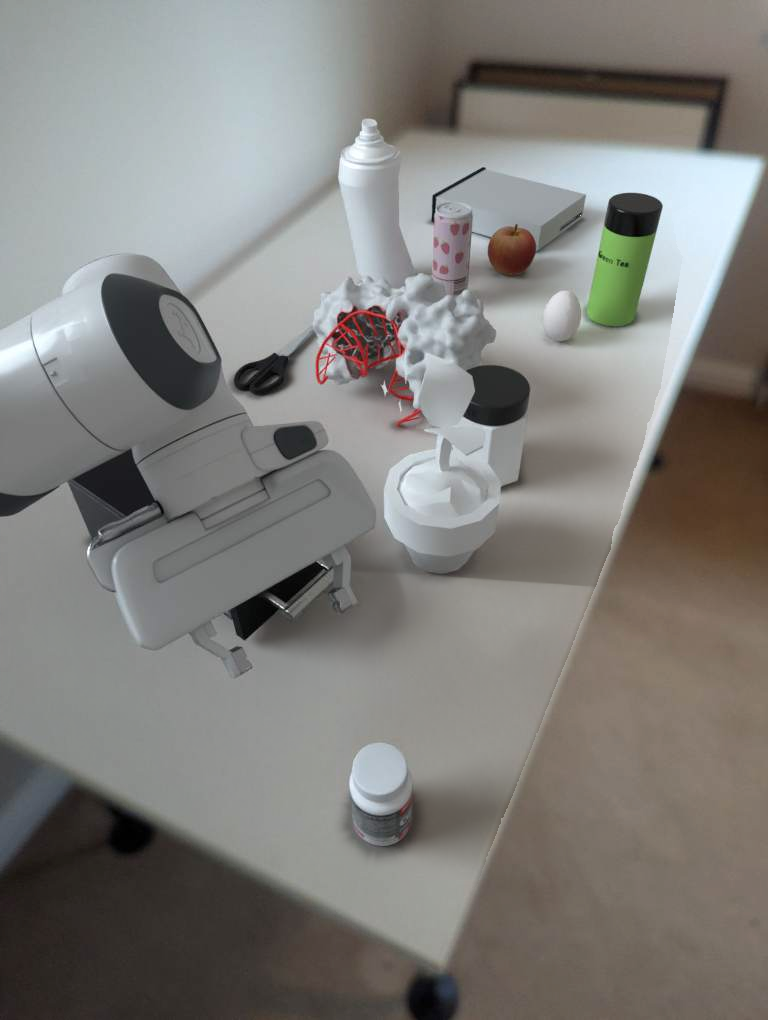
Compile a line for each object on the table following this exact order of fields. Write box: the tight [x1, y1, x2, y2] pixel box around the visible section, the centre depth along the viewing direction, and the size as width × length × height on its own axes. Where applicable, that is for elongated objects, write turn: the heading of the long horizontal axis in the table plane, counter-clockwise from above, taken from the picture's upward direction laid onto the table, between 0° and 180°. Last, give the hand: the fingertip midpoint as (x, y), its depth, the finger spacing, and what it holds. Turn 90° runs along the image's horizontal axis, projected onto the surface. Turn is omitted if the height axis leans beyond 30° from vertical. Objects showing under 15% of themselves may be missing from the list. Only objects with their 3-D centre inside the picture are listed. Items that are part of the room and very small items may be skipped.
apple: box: [487, 224, 537, 276], centre depth 121 cm, size 8×8×8 cm
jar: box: [451, 364, 531, 487], centre depth 84 cm, size 9×8×12 cm
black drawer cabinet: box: [66, 448, 176, 547], centre depth 77 cm, size 15×13×10 cm
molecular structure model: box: [312, 272, 497, 427], centre depth 93 cm, size 20×18×25 cm
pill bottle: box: [348, 742, 414, 847], centre depth 56 cm, size 5×5×8 cm
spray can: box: [337, 118, 417, 289], centre depth 112 cm, size 12×11×25 cm
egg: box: [542, 289, 582, 342], centre depth 106 cm, size 5×5×8 cm
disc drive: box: [431, 166, 587, 252], centre depth 137 cm, size 18×22×5 cm
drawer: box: [222, 558, 334, 641], centre depth 72 cm, size 18×12×8 cm, turn 52°
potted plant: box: [380, 349, 502, 575], centre depth 69 cm, size 13×12×25 cm
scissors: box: [233, 324, 315, 395], centre depth 106 cm, size 7×1×20 cm
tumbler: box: [586, 192, 664, 328], centre depth 107 cm, size 8×8×17 cm
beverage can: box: [431, 202, 473, 296], centre depth 111 cm, size 6×6×15 cm
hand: (296, 639), depth 55 cm, fingers open, 8 cm apart
